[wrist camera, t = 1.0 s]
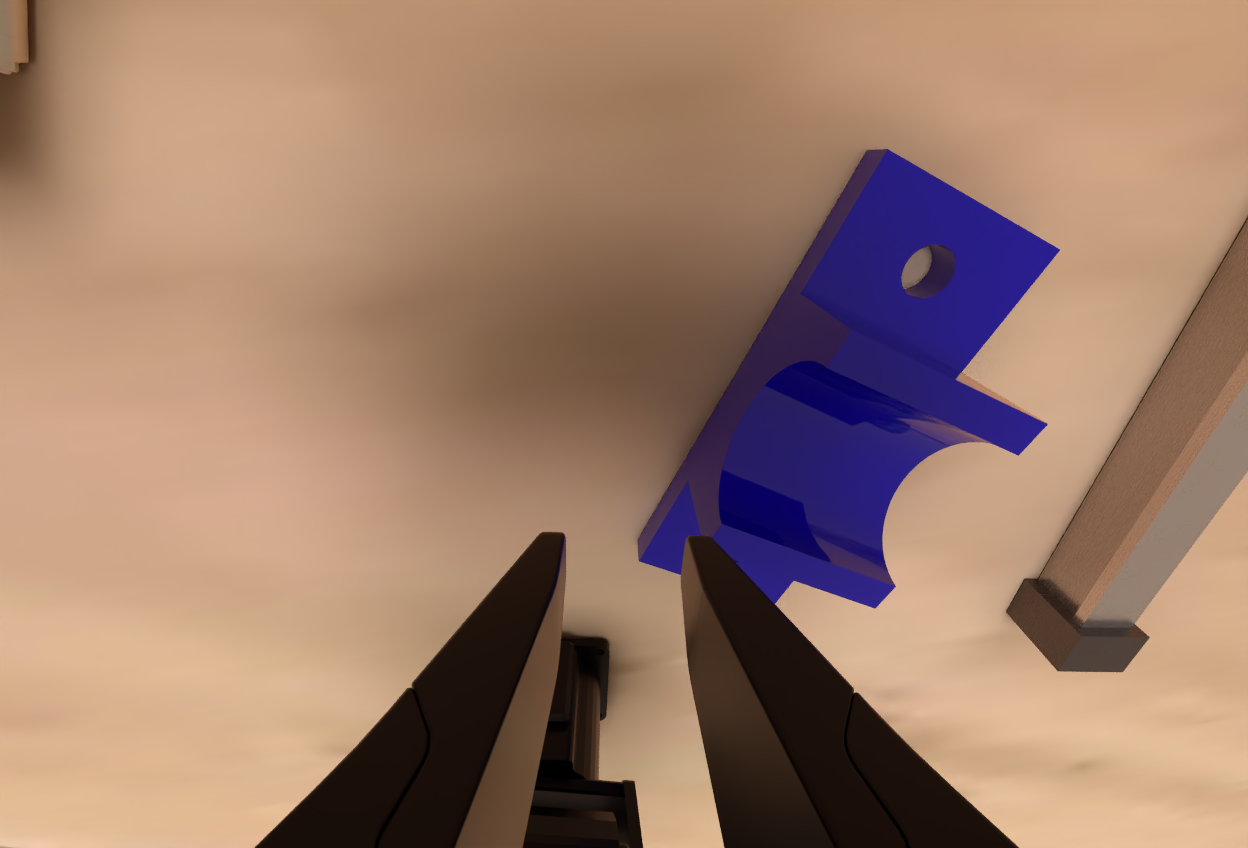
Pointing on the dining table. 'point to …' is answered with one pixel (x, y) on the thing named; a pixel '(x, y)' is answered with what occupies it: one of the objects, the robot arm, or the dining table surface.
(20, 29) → the pneumatic valve
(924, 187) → the mounting bracket
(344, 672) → the dining table surface
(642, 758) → the dining table surface
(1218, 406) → the rail
